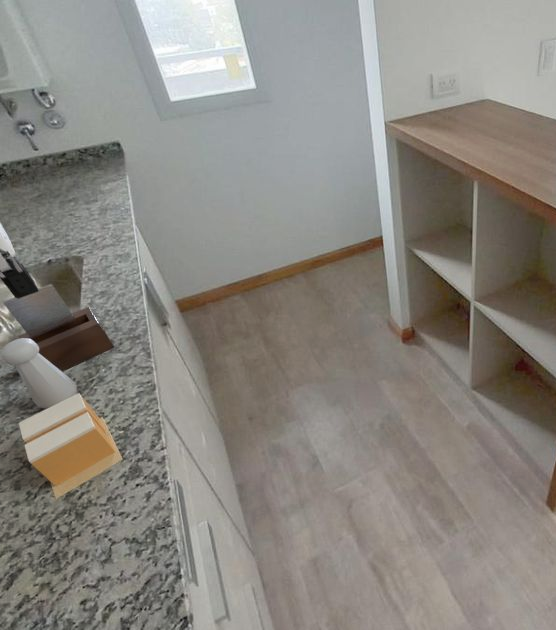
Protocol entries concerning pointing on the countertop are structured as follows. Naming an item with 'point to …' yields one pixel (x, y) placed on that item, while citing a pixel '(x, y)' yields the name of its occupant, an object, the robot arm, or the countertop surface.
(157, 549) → the countertop surface
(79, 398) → the cake
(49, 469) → the cake slice
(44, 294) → the knife
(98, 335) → the knife block
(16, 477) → the countertop surface
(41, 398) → the salt shaker
